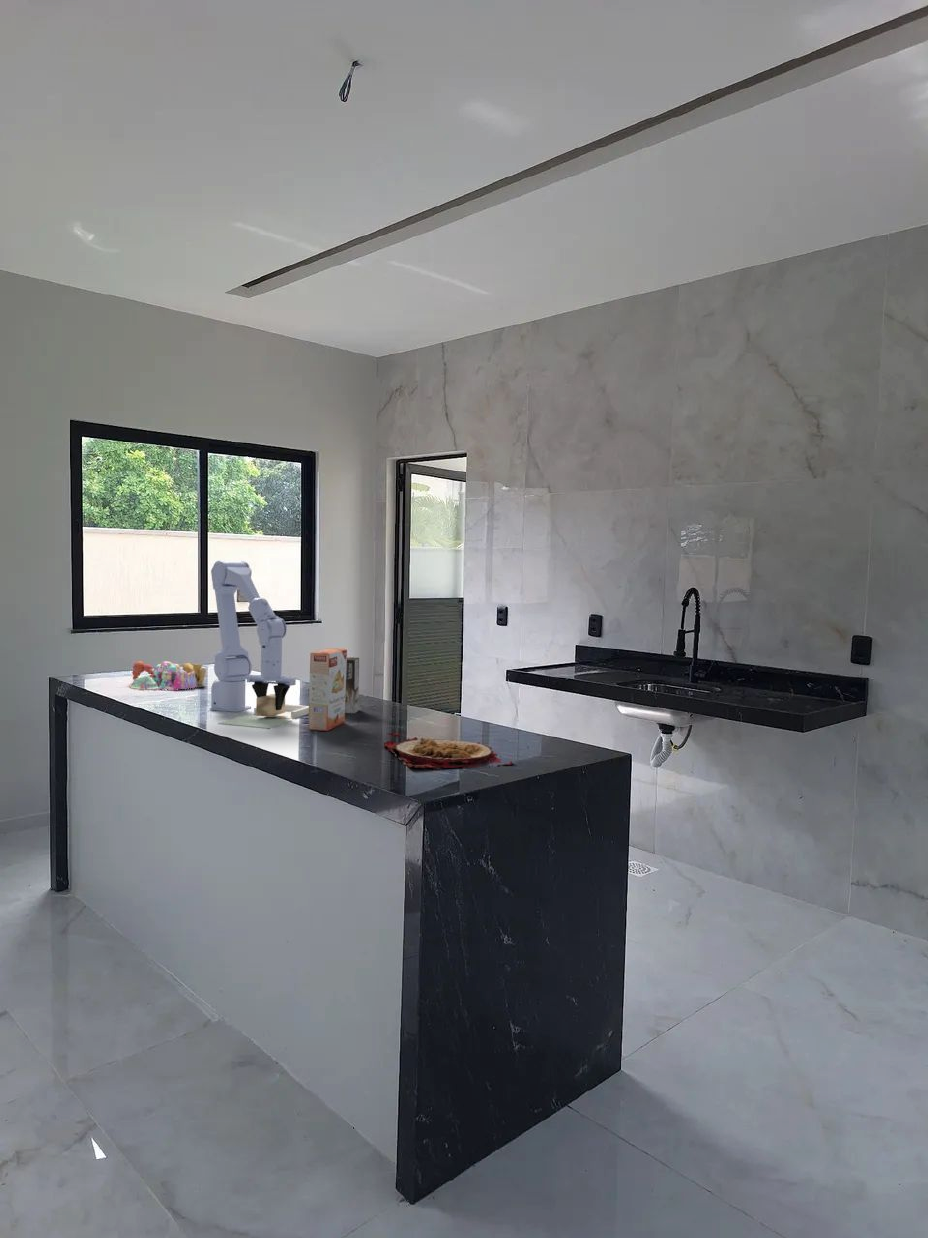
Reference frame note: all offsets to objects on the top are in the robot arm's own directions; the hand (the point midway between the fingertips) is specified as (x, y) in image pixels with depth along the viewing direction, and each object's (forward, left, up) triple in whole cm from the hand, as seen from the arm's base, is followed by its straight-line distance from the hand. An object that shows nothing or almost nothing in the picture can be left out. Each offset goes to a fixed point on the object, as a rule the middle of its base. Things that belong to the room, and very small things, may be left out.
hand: (270, 709), depth 249 cm
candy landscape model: (-62, +37, -3) cm, 72 cm away
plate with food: (+61, -23, -3) cm, 65 cm away
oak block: (0, 0, -2) cm, 2 cm away
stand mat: (0, -8, -3) cm, 8 cm away
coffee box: (+13, +19, -3) cm, 23 cm away
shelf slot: (0, +6, -3) cm, 7 cm away
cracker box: (+20, -4, -3) cm, 21 cm away
